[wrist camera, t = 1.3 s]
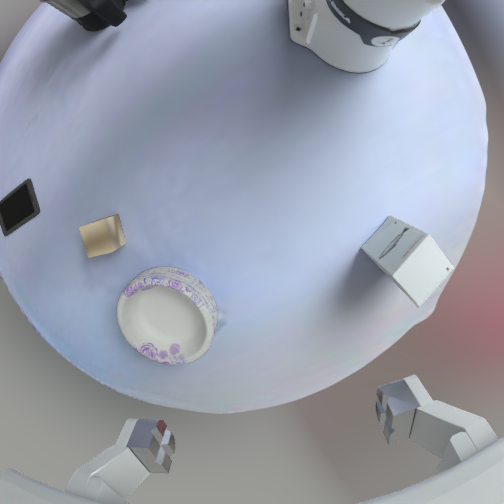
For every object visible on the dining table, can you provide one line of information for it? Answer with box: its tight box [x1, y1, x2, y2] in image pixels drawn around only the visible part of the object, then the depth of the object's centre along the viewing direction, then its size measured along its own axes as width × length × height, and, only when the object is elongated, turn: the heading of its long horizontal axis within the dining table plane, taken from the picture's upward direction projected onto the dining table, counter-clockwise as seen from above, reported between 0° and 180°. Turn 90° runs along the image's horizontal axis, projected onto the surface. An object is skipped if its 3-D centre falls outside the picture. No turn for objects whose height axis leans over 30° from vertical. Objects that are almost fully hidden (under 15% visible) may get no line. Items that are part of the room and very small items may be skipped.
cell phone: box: [0, 179, 40, 236], centre depth 43 cm, size 7×14×1 cm, turn 108°
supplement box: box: [361, 216, 454, 308], centre depth 38 cm, size 7×7×13 cm
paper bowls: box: [117, 266, 218, 365], centre depth 44 cm, size 15×15×8 cm
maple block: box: [79, 214, 126, 258], centre depth 42 cm, size 5×5×5 cm
